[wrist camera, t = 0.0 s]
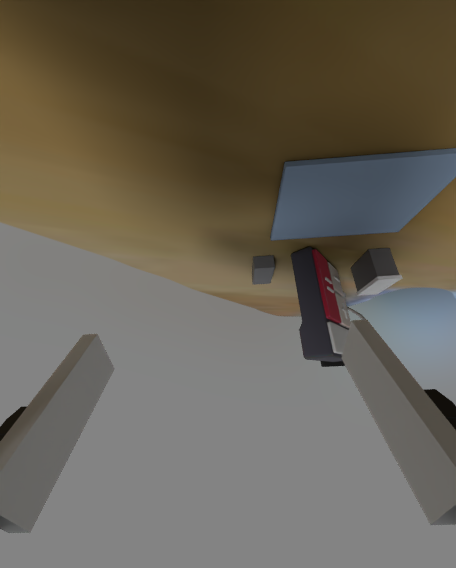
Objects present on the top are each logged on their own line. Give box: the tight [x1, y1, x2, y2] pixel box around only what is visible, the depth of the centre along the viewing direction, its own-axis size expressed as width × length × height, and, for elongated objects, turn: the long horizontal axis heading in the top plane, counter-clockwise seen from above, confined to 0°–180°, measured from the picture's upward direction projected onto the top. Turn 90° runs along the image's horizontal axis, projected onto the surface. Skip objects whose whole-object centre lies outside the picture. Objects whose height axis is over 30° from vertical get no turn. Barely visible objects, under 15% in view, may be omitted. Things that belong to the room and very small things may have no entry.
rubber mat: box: [270, 148, 456, 240], centre depth 24 cm, size 11×16×1 cm
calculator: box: [291, 247, 351, 362], centre depth 34 cm, size 11×4×15 cm, turn 41°
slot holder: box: [252, 248, 402, 295], centre depth 36 cm, size 6×20×5 cm, turn 93°
